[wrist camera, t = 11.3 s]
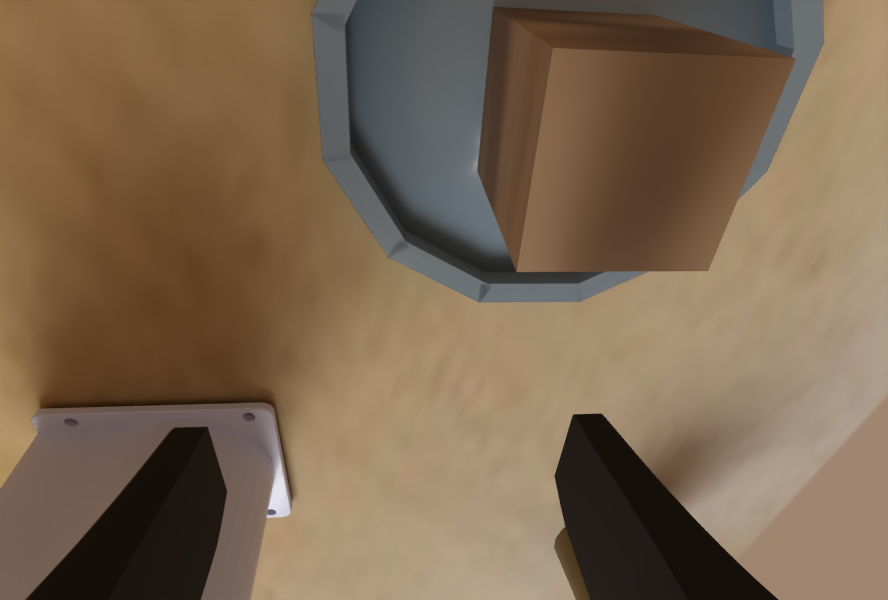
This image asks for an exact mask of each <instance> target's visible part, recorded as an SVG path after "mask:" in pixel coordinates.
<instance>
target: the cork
mask: <svg viewBox="0 0 888 600" xmlns="http://www.w3.org/2000/svg"><path fill="white" fill-rule="evenodd" d="M554 548H555V550H556V553H557V555H558V558H559V560H560V562H561V565H562V567H563V569H564V572H565V574H566V577H567V579H568V581H569V584H570V586H571V589H572V591H573V593H574V596H575V598H576V600H590V597H589V595H588V592H587V589H586V586H585V583H584V580H583V577H582V574H581V571H580V568H579V565H578V562H577V559H576V556H575V553H574V550H573V547H572V544H571V541H570V538H569V535H568V532H567V529H566V528H565V529H563V530H562V531H561V533H560V534H559V535H558V537H557V538H556V540H555V546H554Z"/></svg>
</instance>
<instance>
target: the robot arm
mask: <svg viewBox="0 0 888 600" xmlns="http://www.w3.org/2000/svg"><path fill="white" fill-rule="evenodd" d="M248 413H252V414H248ZM32 423H33V425H34V427H35V429H36V430H37V432H38V434H37V436H36V437H35V439H34V440H33V442H32V443H31V445H30V446H29V448H28V449H27V450H26V452H25V453H24V455H23V456H22V458H21V459H20V461H19V462H18V464H17V465H16V466H15V468H14V469H13V471H12V472H11V474H10V475H9V477H8V478H7V480H6V481H5V483H4V484H3V485H2V487H1V488H0V600H250V599H251V594H252V589H253V584H254V579H255V574H256V569H257V564H258V559H259V554H260V549H261V543H262V538H263V533H264V528H265V523H266V518H271V517H285V516H287V515H289V514H290V513H291V510H292V501H291V496H290V490H289V485H288V480H287V474H286V469H285V464H284V458H283V453H282V447H281V442H280V437H279V431H278V426H277V421H276V415H275V410H274V408H273V407H272V406H271V405H270V404H267V403H225V404H190V405H154V406H118V407H83V408H47V409H40V410H38V411H37V412H36V413H35V414H34V416H33V417H32ZM555 480H556V485H557V490H558V495H559V500H560V505H561V509H562V513H563V518H564V522H565V526H566V529H567V532H568V535H569V538H570V541H571V544H572V547H573V550H574V553H575V556H576V559H577V562H578V565H579V568H580V571H581V574H582V577H583V580H584V583H585V586H586V589H587V592H588V595H589V597H590V600H778V599H777V598H776V597H775V596H773V595H772V594H771V593H770V592H769V591H768V590H767V589H766V588H765V587H764V586H762V585H761V584H760V583H759V582H758V581H757V580H756V579H755V578H754V577H753V576H752V575H750V574H749V573H748V572H747V571H746V570H745V569H744V568H743V567H742V566H741V565H740V564H739V563H738V562H737V561H736V560H735V559H734V558H733V557H732V556H731V555H730V554H729V553H728V552H727V551H726V550H725V549H724V548H723V547H722V546H721V545H720V544H719V543H718V542H717V541H716V540H715V539H714V538H713V537H712V536H711V535H710V534H709V533H708V532H707V531H706V530H705V529H704V528H703V527H702V526H701V525H700V524H699V523H698V522H697V521H696V520H695V519H694V518H693V517H692V516H691V515H690V513H689V512H688V511H687V510H686V509H685V508H684V507H683V506H682V505H681V504H680V503H679V501H678V500H677V499H676V498H675V497H674V496H673V495H672V494H671V493H670V492H669V491H668V489H667V488H666V487H665V486H664V485H663V484H662V483H661V482H660V481H659V479H658V478H657V477H656V476H655V475H654V474H653V473H652V472H651V470H650V469H649V468H648V467H647V466H646V465H645V463H644V462H643V461H642V460H641V459H640V458H639V456H638V455H637V454H636V453H635V452H634V451H633V449H632V448H631V447H630V446H629V445H628V444H627V442H626V441H625V440H624V439H623V438H622V437H621V435H620V434H619V433H618V432H617V431H616V429H615V428H614V427H613V426H612V425H611V424H610V422H609V421H608V420H607V419H606V418H605V417H604V416H603V415H602V414H573V417H572V420H571V423H570V427H569V430H568V433H567V437H566V440H565V443H564V447H563V450H562V453H561V457H560V460H559V463H558V467H557V470H556V473H555Z"/></svg>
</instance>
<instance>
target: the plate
mask: <svg viewBox="0 0 888 600" xmlns="http://www.w3.org/2000/svg"><path fill="white" fill-rule="evenodd" d="M493 7H508V8H527V9H546V10H565V11H584V12H603V13H622V14H641V15H657V16H660V17H663V18H666V19H669V20H673V21H676V22H679V23H682V24H686V25H689V26H692V27H695V28H699V29H702V30H705V31H708V32H711V33H715V34H718V35H721V36H724V37H728V38H731V39H734V40H737V41H740V42H744V43H747V44H750V45H753V46H757V47H760V48H763V49H766V50H770V51H773V52H776V53H779V54H782V55H786V56H789V57H792V58H795V59H796V60H795V63H794V65H793V67H792V70H791V72H790V75H789V77H788V80H787V82H786V84H785V87H784V89H783V92H782V94H781V96H780V99H779V101H778V104H777V106H776V108H775V111H774V113H773V116H772V118H771V120H770V123H769V125H768V128H767V130H766V133H765V135H764V137H763V140H762V142H761V145H760V147H759V149H758V152H757V154H756V157H755V159H754V161H753V164H752V166H751V169H750V171H749V173H748V176H747V178H746V181H745V183H744V186H743V188H742V190H741V193H740V195H739V198H738V200H739V199H740V198H741V197H742V196H743V195H744V194H745V193H746V192H747V191H748V190H749V189H750V188H751V187H752V186H753V185H754V184H755V183H756V182H757V181H758V180H759V179H760V178H761V177H762V176H763V175H764V174H765V173H766V172H767V171H768V168H769V166H770V164H771V161H772V159H773V157H774V155H775V152H776V150H777V148H778V146H779V143H780V141H781V139H782V136H783V134H784V132H785V130H786V127H787V125H788V123H789V121H790V118H791V116H792V114H793V112H794V109H795V107H796V105H797V102H798V100H799V98H800V96H801V93H802V91H803V89H804V87H805V84H806V82H807V80H808V78H809V75H810V73H811V71H812V69H813V66H814V64H815V62H816V59H817V57H818V55H819V53H820V50H821V48H822V46H823V44H824V25H823V0H317V2H316V5H315V7H314V9H313V11H312V12H311V15H312V28H313V41H314V54H315V67H316V80H317V93H318V106H319V119H320V132H321V145H322V158H323V159H322V160H323V162H324V163H325V165H326V166H327V167H328V169H329V170H330V172H331V173H332V175H333V176H334V178H335V179H336V181H337V182H338V184H339V185H340V187H341V188H342V190H343V191H344V193H345V194H346V196H347V197H348V199H349V200H350V202H351V203H352V205H353V206H354V208H355V209H356V210H357V212H358V213H359V215H360V216H361V218H362V219H363V221H364V222H365V224H366V225H367V227H368V228H369V230H370V231H371V233H372V234H373V236H374V237H375V239H376V240H377V242H378V243H379V245H380V246H381V248H382V249H383V251H384V252H385V254H386V255H387V257H388V258H391V259H393V260H395V261H397V262H399V263H401V264H403V265H405V266H407V267H409V268H411V269H413V270H415V271H417V272H419V273H421V274H423V275H425V276H427V277H429V278H431V279H433V280H435V281H437V282H439V283H441V284H443V285H445V286H447V287H449V288H451V289H453V290H455V291H457V292H459V293H461V294H463V295H465V296H467V297H469V298H471V299H473V300H475V301H477V302H479V303H480V302H580V301H582V300H585V299H587V298H589V297H592V296H594V295H596V294H598V293H601V292H603V291H605V290H608V289H610V288H612V287H614V286H617V285H619V284H621V283H624V282H626V281H628V280H630V279H633V278H635V277H637V276H640V275H642V274H644V273H646V272H649V271H618V272H516V269H515V266H514V264H513V261H512V259H511V256H510V254H509V251H508V249H507V246H506V244H505V241H504V239H503V236H502V233H501V231H500V228H499V226H498V223H497V221H496V218H495V216H494V213H493V211H492V208H491V205H490V203H489V200H488V198H487V195H486V193H485V190H484V188H483V185H482V183H481V180H480V177H479V175H478V172H477V167H478V157H479V146H480V136H481V126H482V115H483V105H484V94H485V84H486V74H487V63H488V53H489V42H490V32H491V22H492V11H493ZM738 200H737V201H738Z"/></svg>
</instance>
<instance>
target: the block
mask: <svg viewBox="0 0 888 600" xmlns="http://www.w3.org/2000/svg"><path fill="white" fill-rule="evenodd" d="M795 60H796V59H795V58H792V57H789V56H786V55H782V54H779V53H776V52H773V51H770V50H766V49H763V48H760V47H757V46H753V45H750V44H747V43H744V42H740V41H737V40H734V39H731V38H728V37H724V36H721V35H718V34H715V33H711V32H708V31H705V30H702V29H699V28H695V27H692V26H689V25H686V24H682V23H679V22H676V21H673V20H669V19H666V18H663V17H660V16H657V15H641V14H622V13H603V12H584V11H565V10H546V9H527V8H508V7H493V11H492V22H491V32H490V42H489V53H488V63H487V74H486V84H485V94H484V105H483V115H482V126H481V136H480V146H479V157H478V167H477V172H478V175H479V177H480V180H481V183H482V185H483V188H484V190H485V193H486V195H487V198H488V200H489V203H490V205H491V208H492V211H493V213H494V216H495V218H496V221H497V223H498V226H499V228H500V231H501V233H502V236H503V239H504V241H505V244H506V246H507V249H508V251H509V254H510V256H511V259H512V261H513V264H514V266H515V269H516V272H618V271H708V270H709V267H710V265H711V263H712V260H713V258H714V255H715V253H716V251H717V248H718V246H719V243H720V241H721V239H722V236H723V234H724V231H725V229H726V226H727V224H728V222H729V219H730V217H731V214H732V212H733V210H734V207H735V205H736V202H737V200H738V198H739V195H740V193H741V190H742V188H743V186H744V183H745V181H746V178H747V176H748V173H749V171H750V169H751V166H752V164H753V161H754V159H755V157H756V154H757V152H758V149H759V147H760V145H761V142H762V140H763V137H764V135H765V133H766V130H767V128H768V125H769V123H770V120H771V118H772V116H773V113H774V111H775V108H776V106H777V104H778V101H779V99H780V96H781V94H782V92H783V89H784V87H785V84H786V82H787V80H788V77H789V75H790V72H791V70H792V67H793V65H794V63H795Z"/></svg>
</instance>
